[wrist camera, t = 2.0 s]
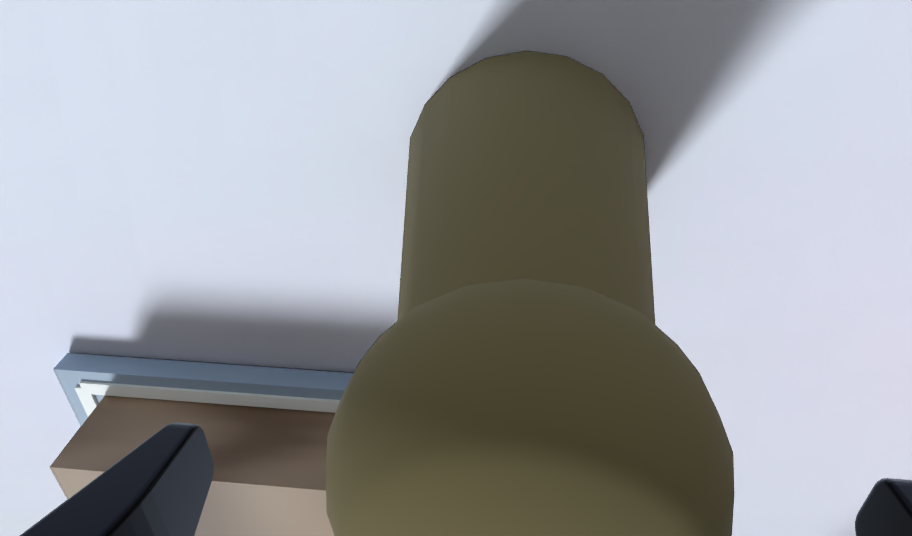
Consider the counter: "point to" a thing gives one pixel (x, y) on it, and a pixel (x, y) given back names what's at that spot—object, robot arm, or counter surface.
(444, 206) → the olive pawn
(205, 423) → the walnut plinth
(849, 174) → the counter surface
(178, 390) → the board
